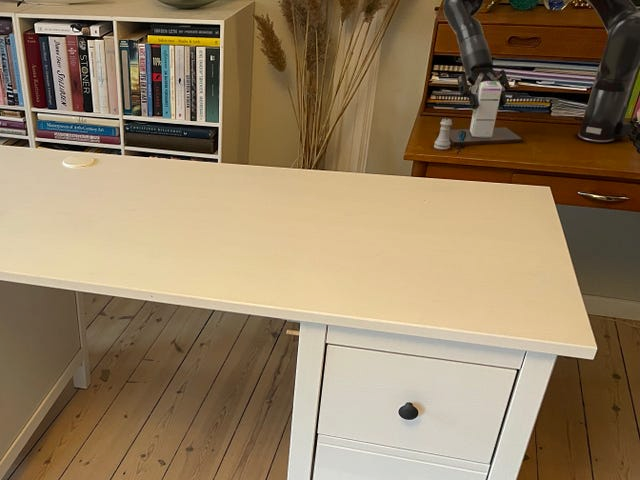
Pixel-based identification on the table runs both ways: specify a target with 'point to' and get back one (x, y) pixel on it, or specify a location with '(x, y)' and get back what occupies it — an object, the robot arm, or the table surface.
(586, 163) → the table surface
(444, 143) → the rook chess piece
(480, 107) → the syrup box
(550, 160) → the table surface
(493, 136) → the grey rectangular panel
